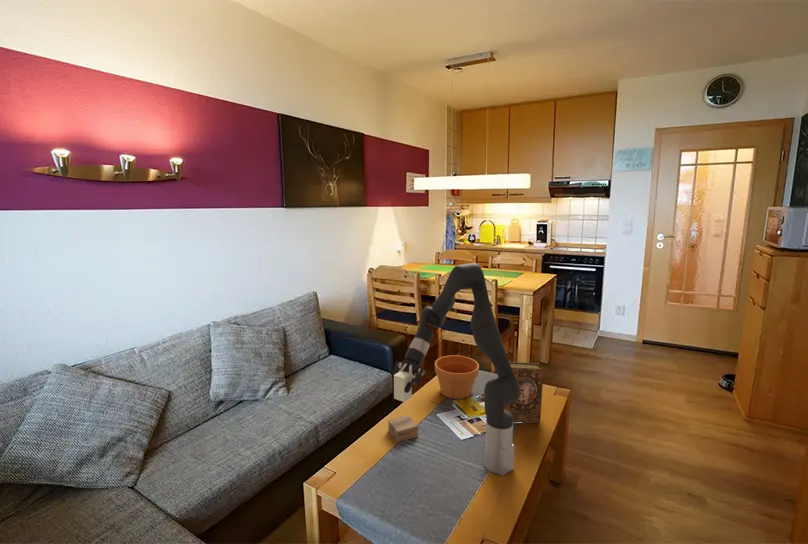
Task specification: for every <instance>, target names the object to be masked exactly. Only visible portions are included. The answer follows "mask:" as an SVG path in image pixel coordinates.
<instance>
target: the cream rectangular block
mask: <svg viewBox="0 0 808 544" xmlns="http://www.w3.org/2000/svg"><path fill="white" fill-rule="evenodd" d="M409 378H410V374H409V373H408V372H404V371H403V372H398V373H397V374H395V375H393V382H394V388H393V399H394V400H397V401H399V402H403V403H405V402H407V401H408V400H410V399H411V398H413V397H412V396H413V395H412V394H413V391H412V388H413V386H412V387H411V389H410V391H409V392H408V393H406V392H405V391H404V389H405V387H406V385H407V383H408V382H409Z"/></svg>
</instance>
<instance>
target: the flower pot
mask: <svg viewBox="0 0 808 544" xmlns="http://www.w3.org/2000/svg"><path fill="white" fill-rule="evenodd" d="M479 369H480V364H479V362H477V361H476V360H475V359H473V358H471V357H468V356H464V355H458V354H455V355H454V354H451V355H446V356H441V357H439V358H437V359H436V360H435V361H434V372H435V374H436V376H437V381H438V384H439V389H440V392H441V394H442V396H445V397H447V398H449V399H455V400H462V398H463V399H466V398H469V396H471V394H472V391H473V387H474V385H475V382H476V378H478V376H479V371H480V370H479Z"/></svg>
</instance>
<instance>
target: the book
mask: <svg viewBox="0 0 808 544" xmlns="http://www.w3.org/2000/svg"><path fill="white" fill-rule="evenodd" d="M509 363H510V365H511V368H512V370H513V372H514V375H515V377H516V380H517V382H518V385H519V389H520V397H519V399H518V400H517V401H516V402H514V403H511V404H508V405H505V406H504V409H505V410H507V411H509V412H510V413H511V414H512V415H513V418H514V421H513V422H522V423H521V424H525V423H537V424H536V425H539V424H541V419H542V417H541V415H542V399H543V383H544V369H543V368H542V367H541V364H540V363H539V362H516V361H515V362H514V361H509Z"/></svg>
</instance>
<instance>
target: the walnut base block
mask: <svg viewBox="0 0 808 544" xmlns="http://www.w3.org/2000/svg"><path fill="white" fill-rule="evenodd" d="M387 423H388V432H389V434H390V435H391V436H392V437H393V439H394V440H395V441H396V443H397V444H398V443H402V442H406V441H408V439H409V440H412V439H415V438H418V437H419V425H418V424H417V423H416V422H415V421H414V420H413V419H412V417H411V416H409V414H407V415H404V416H403V415H402V416H399V417H394V418H391V419H388V421H387ZM411 438H412V439H411Z"/></svg>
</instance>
